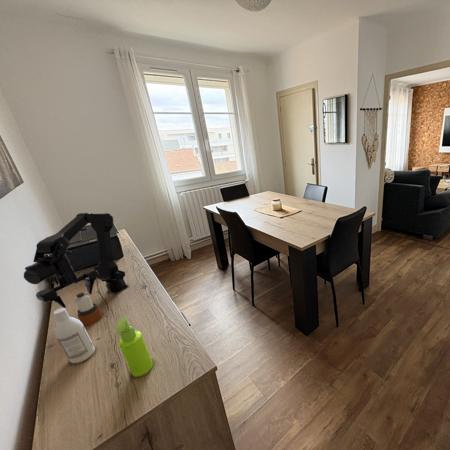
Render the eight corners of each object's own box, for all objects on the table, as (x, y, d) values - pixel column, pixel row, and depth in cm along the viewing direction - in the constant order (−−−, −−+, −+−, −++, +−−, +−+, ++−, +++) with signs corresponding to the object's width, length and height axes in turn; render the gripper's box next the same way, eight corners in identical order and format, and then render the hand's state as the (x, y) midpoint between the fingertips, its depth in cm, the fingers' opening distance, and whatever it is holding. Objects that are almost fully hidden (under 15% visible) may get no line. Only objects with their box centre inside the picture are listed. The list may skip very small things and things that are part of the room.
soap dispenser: (129, 382, 74) (106, 334, 67) (134, 364, 80) (113, 317, 73) (151, 374, 76) (131, 326, 69) (153, 357, 82) (135, 311, 75)
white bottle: (89, 303, 102) (83, 290, 100) (95, 305, 101) (89, 292, 98) (77, 310, 99) (70, 296, 96) (83, 312, 97) (76, 298, 94)
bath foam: (81, 347, 88) (57, 304, 81) (100, 346, 88) (78, 302, 81) (64, 364, 82) (37, 319, 74) (85, 363, 82) (60, 317, 74)
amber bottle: (96, 312, 106) (91, 301, 104) (105, 315, 103) (100, 304, 101) (78, 322, 100) (72, 311, 98) (87, 327, 98) (81, 315, 96)
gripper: (78, 255, 106) (91, 284, 112) (20, 278, 90) (39, 311, 96) (93, 258, 102) (106, 289, 107) (35, 283, 86) (54, 317, 92)
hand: (78, 300), depth 101 cm, fingers open, 9 cm apart
